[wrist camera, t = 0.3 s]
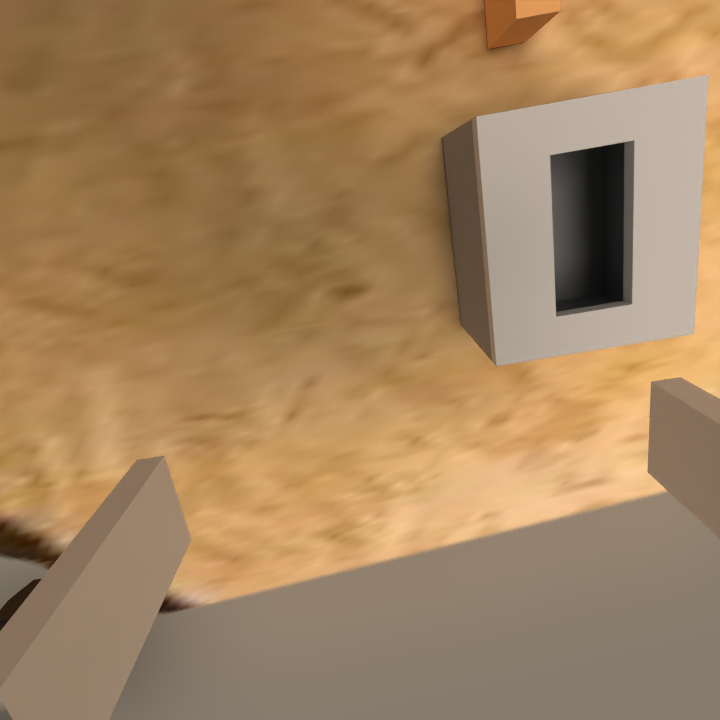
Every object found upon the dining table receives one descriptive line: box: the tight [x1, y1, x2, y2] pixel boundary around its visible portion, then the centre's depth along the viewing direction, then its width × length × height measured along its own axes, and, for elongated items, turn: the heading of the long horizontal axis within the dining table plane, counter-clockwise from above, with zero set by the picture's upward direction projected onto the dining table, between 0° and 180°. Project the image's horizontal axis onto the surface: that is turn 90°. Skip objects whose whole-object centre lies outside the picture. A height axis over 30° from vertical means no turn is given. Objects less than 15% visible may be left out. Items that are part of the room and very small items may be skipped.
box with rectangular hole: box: [442, 75, 709, 366], centre depth 32 cm, size 14×12×10 cm
